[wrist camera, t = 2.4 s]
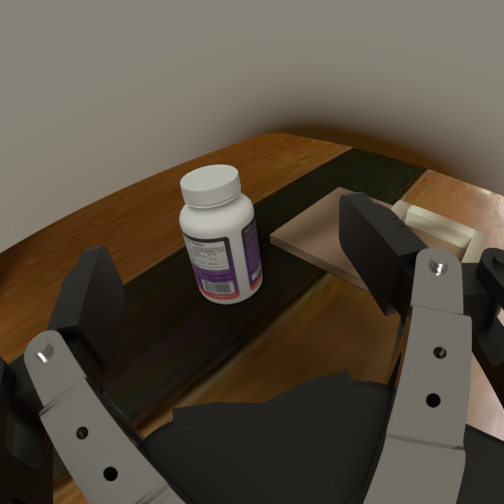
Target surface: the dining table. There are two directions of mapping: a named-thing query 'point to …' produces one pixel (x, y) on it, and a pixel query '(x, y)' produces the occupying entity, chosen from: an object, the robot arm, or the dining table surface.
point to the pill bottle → (220, 234)
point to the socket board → (328, 245)
